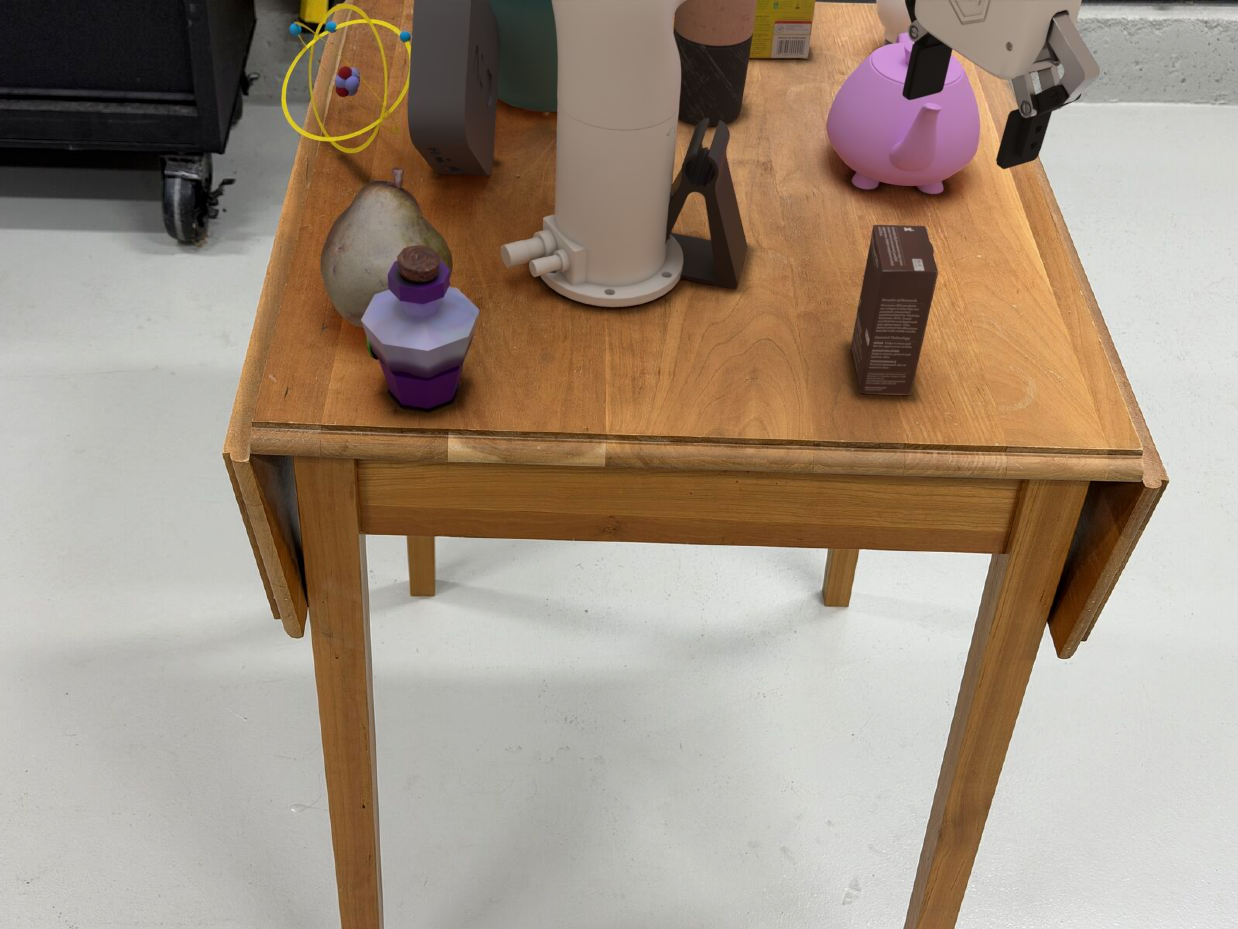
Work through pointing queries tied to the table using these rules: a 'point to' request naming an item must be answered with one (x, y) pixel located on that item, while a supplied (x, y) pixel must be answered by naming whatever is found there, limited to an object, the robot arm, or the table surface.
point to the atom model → (345, 77)
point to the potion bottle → (420, 331)
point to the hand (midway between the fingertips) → (967, 127)
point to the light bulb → (893, 18)
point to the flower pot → (527, 54)
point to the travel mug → (713, 57)
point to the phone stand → (709, 211)
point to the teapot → (903, 123)
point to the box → (893, 309)
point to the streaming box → (454, 85)
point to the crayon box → (782, 29)
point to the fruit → (374, 244)
